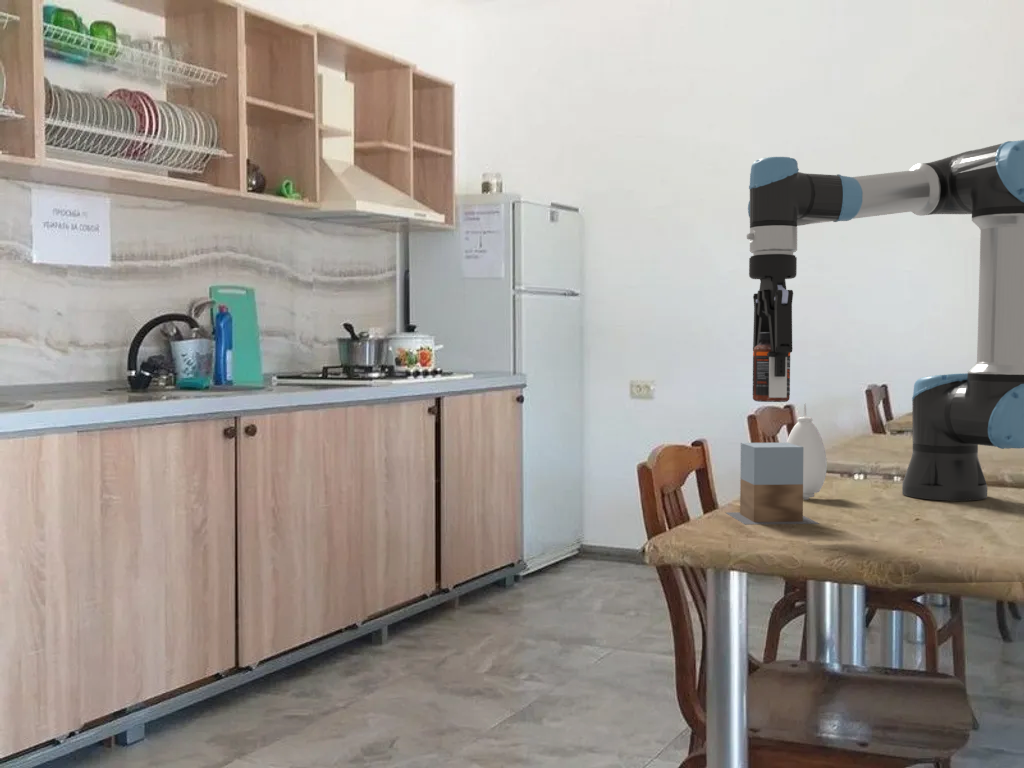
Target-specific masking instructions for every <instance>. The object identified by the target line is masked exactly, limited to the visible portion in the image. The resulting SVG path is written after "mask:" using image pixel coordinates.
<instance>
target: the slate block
mask: <svg viewBox="0 0 1024 768" xmlns="http://www.w3.org/2000/svg"><path fill="white" fill-rule="evenodd" d="M740 479H742V480H745V481H747V482H749V483H751V484H753V485H787V484H803V447H801V446H798V445H794V444H791V443H786V442H740Z"/></svg>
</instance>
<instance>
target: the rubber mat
mask: <svg viewBox="0 0 1024 768" xmlns="http://www.w3.org/2000/svg"><path fill="white" fill-rule="evenodd" d="M725 514H727V515H728V516H730V517H732V518H734V519H735V520H737V521H738V522H740V523H742V524H743V525H746V526H747V525H751V526H752V525H812V524H813V525H817V524H818V525H820V523H819V522H818V521H815V520H813V519H811V518H809V517H806V516H804V515H803V522H753V521H751V520H749V519H748V518H746V517H744V516H742V515H741V514H740V511H739V512H737V511H735V512H730V511H729V512H725Z"/></svg>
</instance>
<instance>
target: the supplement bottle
mask: <svg viewBox="0 0 1024 768" xmlns="http://www.w3.org/2000/svg"><path fill="white" fill-rule="evenodd" d="M759 340H760V343H759V344H758V345H757V346H755V348H754V350H753V349H752V351H753V352H752V399H753V401H754V402H763V403H785V402H786V403H787V402H788V401H790V397H791V395H790V394H791V393H790V392H791V353H789V354H788V356H787V398H770V397H769V357H768V356H767V353H768V352H771V342H770V332H761V333H759Z"/></svg>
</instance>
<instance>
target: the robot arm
mask: <svg viewBox="0 0 1024 768" xmlns="http://www.w3.org/2000/svg"><path fill="white" fill-rule="evenodd" d="M799 170H800V169H799V167H798V160H796V159H795V158H792V157H789V156H769V157H763V158H758V159H756V160H754V162H752V164H751V166H750V173H749V185H748V189H749V201H748V204H747V205H748V206H747V212H748V217H749V233H747V234H746V239H747V240H749V252H750V253H751V254H753V255H751V256H750V257H749V258H748V259H749V260H748V266H749V267H748V276H749V278H750V279H752V280H760V283H759V290H757V293H755V292H754V293H753V296H752V299H753V339H752V340H753V341H752V351H753V350H754V348H755V346H757V345H758V344H759V343H760V340H759V333H761V332H770V342H771V352H768V353H767V356H768V357H769V397H770V398H787V356H788V354H789V353H790V354H791V353H792V352H793V298H794V291H793V289H787V282H786V280H791V279H795V278H796V277H797V266H798V265H797V264H798V263H797V259H798V258H797V256H796V255H795V254H794V253H795V252H796V253H797V251H798V227H800V226H806V225H812V224H813V225H814V224H820V223H821V224H822V223H830V222H833V223H837V222H848V221H852V220H854V219H862V218H870V217H878V216H885V215H893V214H894V215H896V214H901V213H902V214H903V213H912V214H914V215H917V216H929V215H971V222H972V223H974V224H975V225H976V226H977V227H978V228H979V230H980V234H979V235H980V238H979V239H980V240H979V244H980V245H979V269H978V271H979V276H978V277H979V278H978V307H977V308H978V312H977V313H978V314H977V316H978V317H977V347H976V362H975V364H974V365H973V366H971V368H970V369H969V370H968V371H967V372H966V373H947V374H939V375H937V374H936V375H929V376H928V375H927V376H922V377H920V378H918V379H916V381H915V382H914V384H913V393H912V394H913V395H912V398H911V401H912V405H911V406H912V453H911V458H910V461H909V464H908V466H907V469H906V472H905V473H904V475H905V476H904V478H903V481H902V487H901V488H902V492H901V494H902V495H904V496H906V497H910V498H916V499H917V498H918V499H924V500H925V499H926V500H936V501H956V502H957V501H980V500H985V499H987V498H988V484H987V481H986V477H985V474H984V471H983V469H982V465H981V463H980V460H979V446H985V447H986V446H987V447H994V448H995V447H996V448H998V449H1002V450H1004V449H1008V450H1009V449H1017V450H1018V449H1024V139H1020V140H1013V141H1011V140H1007V141H1005V142H1003V143H999V144H995V145H990V146H986V147H982V148H977V149H974V150H968V151H964V152H961V153H957V154H955V155H951V156H948V157H945V158H942V159H938V160H934V161H930V162H925V163H917V164H915V165H912V167H910V168H909V170H904V171H903V170H902V171H901V170H900V171H894V172H883V173H876V174H867V175H857V176H846V175H841V174H823V173H821V174H819V173H806V172H805V173H804V172H800V171H799Z"/></svg>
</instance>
